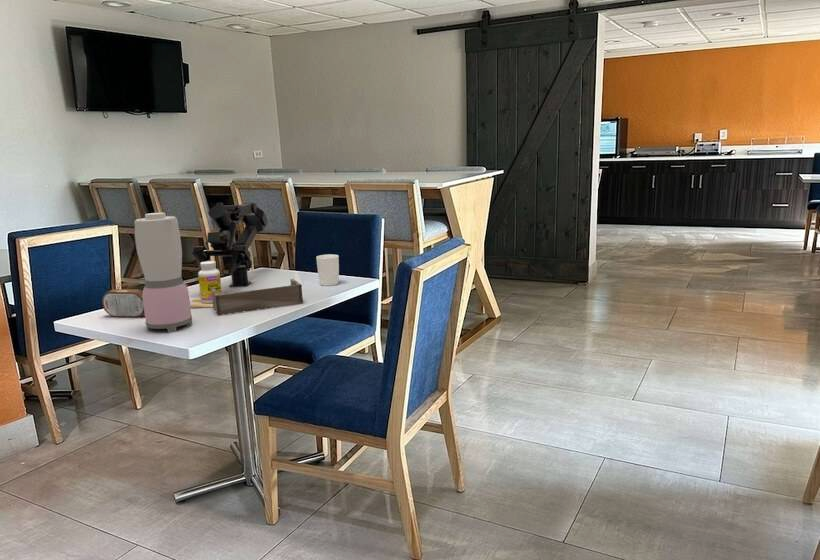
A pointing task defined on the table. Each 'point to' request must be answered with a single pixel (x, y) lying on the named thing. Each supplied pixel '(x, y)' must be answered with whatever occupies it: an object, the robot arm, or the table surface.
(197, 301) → the coaster
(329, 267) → the white cup
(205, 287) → the supplement bottle
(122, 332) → the table surface
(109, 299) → the tin
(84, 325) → the table surface
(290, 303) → the cubby
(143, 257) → the blender
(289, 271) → the table surface
